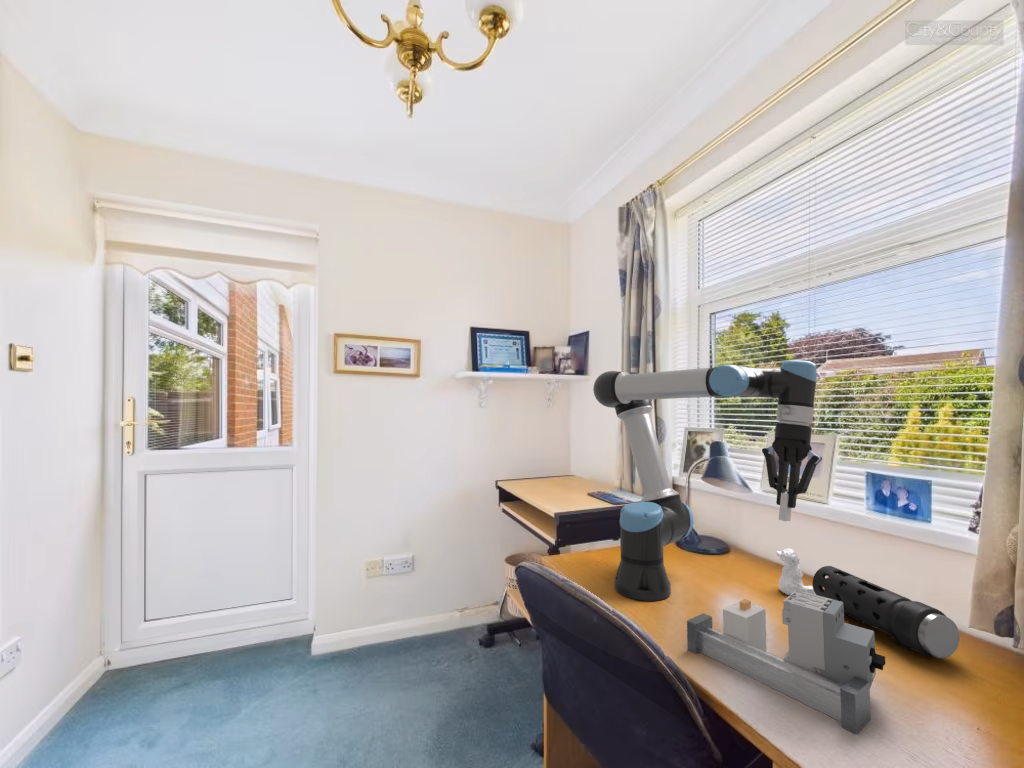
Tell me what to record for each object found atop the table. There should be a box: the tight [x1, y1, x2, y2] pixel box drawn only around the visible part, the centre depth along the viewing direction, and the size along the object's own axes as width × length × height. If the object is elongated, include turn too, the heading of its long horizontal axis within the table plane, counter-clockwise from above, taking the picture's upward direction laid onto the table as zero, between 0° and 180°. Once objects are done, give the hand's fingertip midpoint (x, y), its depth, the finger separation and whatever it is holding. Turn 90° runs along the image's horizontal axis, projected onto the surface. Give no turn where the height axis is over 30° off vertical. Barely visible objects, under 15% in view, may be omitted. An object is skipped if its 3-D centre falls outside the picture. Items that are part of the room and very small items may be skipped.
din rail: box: [686, 613, 872, 735], centre depth 85 cm, size 30×6×6 cm, turn 34°
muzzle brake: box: [812, 565, 961, 659], centre depth 104 cm, size 10×28×10 cm, turn 7°
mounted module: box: [722, 598, 768, 653], centre depth 95 cm, size 5×8×10 cm, turn 124°
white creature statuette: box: [776, 547, 816, 596], centre depth 125 cm, size 10×9×12 cm
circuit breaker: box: [781, 590, 886, 688], centre depth 82 cm, size 8×14×15 cm, turn 44°
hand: (784, 520), depth 110 cm, fingers closed
